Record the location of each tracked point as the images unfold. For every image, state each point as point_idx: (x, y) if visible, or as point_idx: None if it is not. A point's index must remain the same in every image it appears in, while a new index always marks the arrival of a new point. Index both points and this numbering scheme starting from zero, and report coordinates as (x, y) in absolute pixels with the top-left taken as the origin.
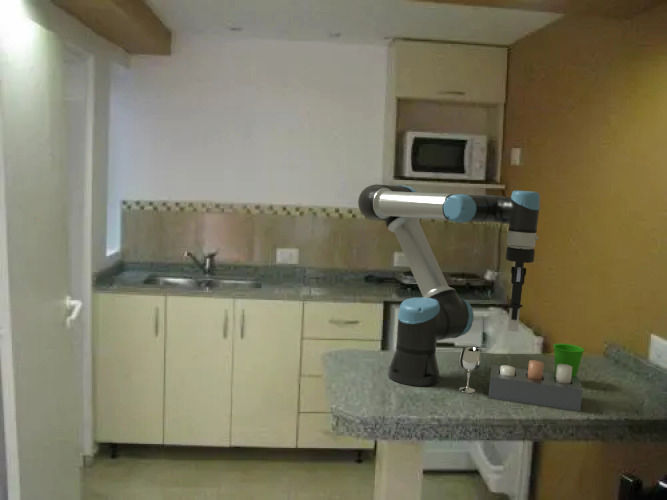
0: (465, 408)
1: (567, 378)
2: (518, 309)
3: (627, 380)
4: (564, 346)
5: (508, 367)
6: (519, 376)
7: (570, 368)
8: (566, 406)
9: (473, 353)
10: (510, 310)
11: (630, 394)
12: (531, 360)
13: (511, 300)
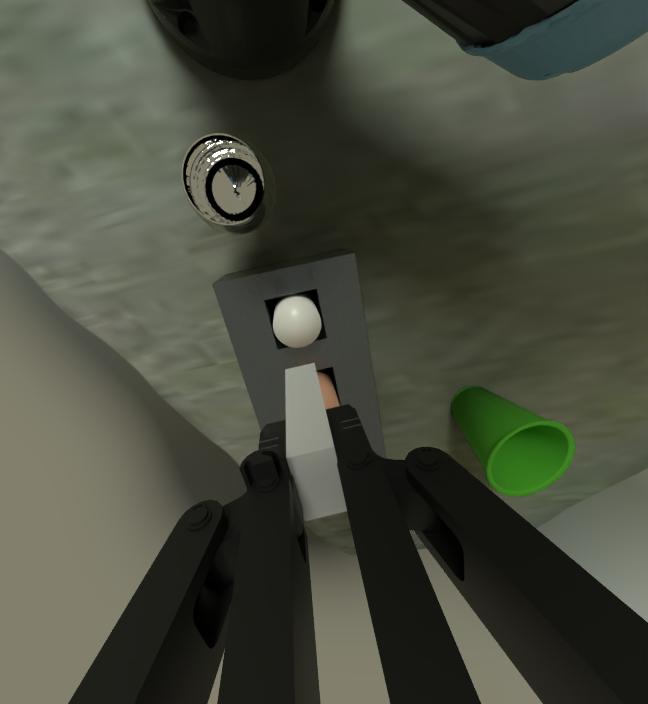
0: (86, 240)
1: None
2: (301, 507)
3: (544, 492)
4: (563, 440)
5: (299, 326)
6: (285, 358)
7: None
8: None
9: (192, 206)
10: (286, 448)
11: None
12: (329, 400)
13: (142, 581)
